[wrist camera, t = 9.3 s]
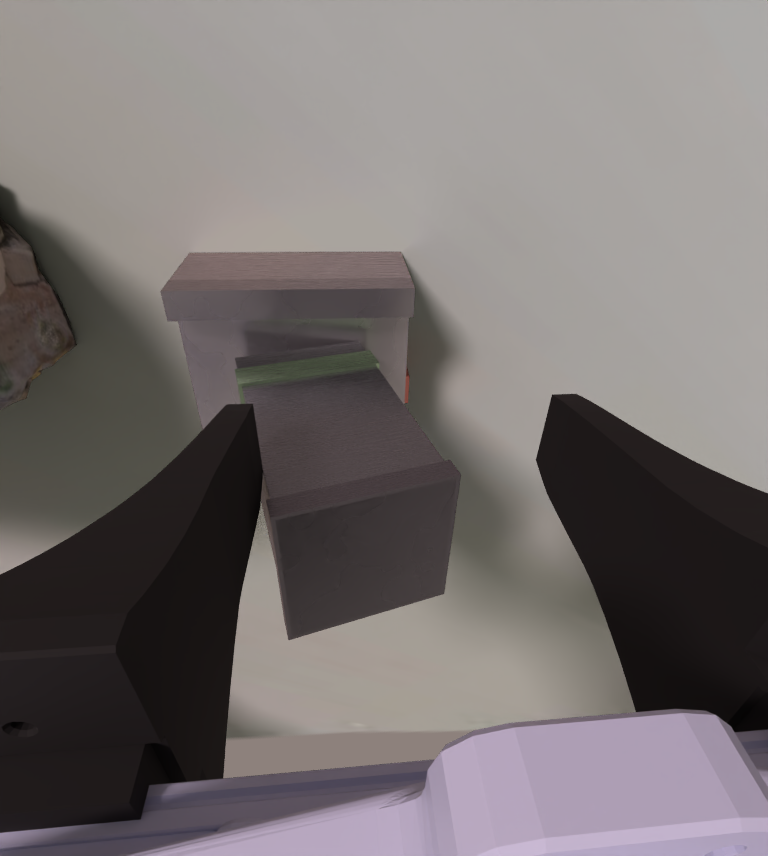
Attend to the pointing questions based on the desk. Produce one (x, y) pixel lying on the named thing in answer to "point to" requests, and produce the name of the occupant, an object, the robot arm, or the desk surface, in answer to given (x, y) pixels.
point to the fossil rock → (26, 319)
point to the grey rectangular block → (346, 486)
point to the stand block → (287, 312)
